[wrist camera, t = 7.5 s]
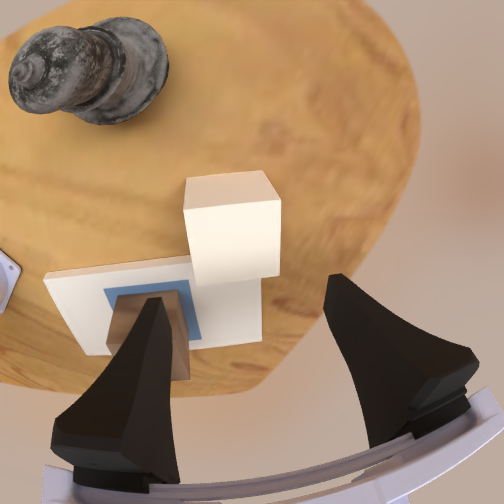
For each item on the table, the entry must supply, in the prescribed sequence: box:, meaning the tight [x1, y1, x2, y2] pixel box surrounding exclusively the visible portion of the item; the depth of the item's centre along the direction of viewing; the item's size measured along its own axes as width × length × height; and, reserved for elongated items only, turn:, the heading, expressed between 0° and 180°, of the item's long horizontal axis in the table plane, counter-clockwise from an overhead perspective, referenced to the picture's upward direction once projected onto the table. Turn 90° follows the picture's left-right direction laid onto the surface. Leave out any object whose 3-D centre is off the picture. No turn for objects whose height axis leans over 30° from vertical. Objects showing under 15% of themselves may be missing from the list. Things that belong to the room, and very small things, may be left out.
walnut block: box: [106, 289, 190, 381], centre depth 21 cm, size 5×5×5 cm
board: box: [43, 255, 262, 356], centre depth 24 cm, size 18×10×1 cm, turn 92°
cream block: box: [183, 170, 281, 286], centre depth 18 cm, size 5×5×5 cm
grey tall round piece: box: [8, 17, 169, 125], centre depth 9 cm, size 6×6×12 cm
